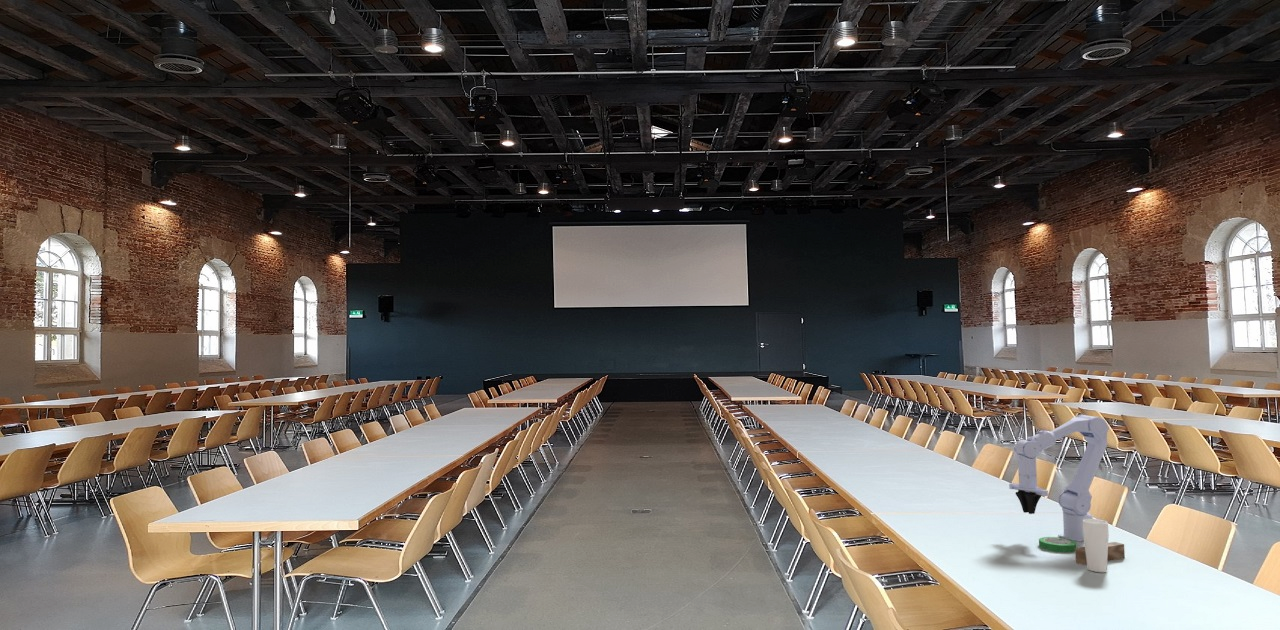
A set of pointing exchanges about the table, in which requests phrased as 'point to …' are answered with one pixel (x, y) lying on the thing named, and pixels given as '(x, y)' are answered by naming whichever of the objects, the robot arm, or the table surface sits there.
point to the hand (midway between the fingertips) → (1029, 512)
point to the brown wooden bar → (1113, 553)
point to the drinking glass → (1096, 544)
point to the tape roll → (1057, 544)
